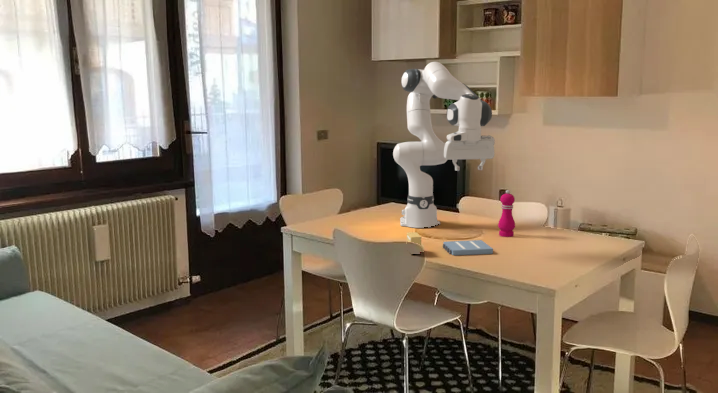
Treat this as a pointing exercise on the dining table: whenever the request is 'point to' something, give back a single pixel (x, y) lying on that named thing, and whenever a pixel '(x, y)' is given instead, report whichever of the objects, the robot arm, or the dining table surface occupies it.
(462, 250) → the board
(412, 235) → the pale yellow block
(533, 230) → the dining table surface
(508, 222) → the pepper mill
